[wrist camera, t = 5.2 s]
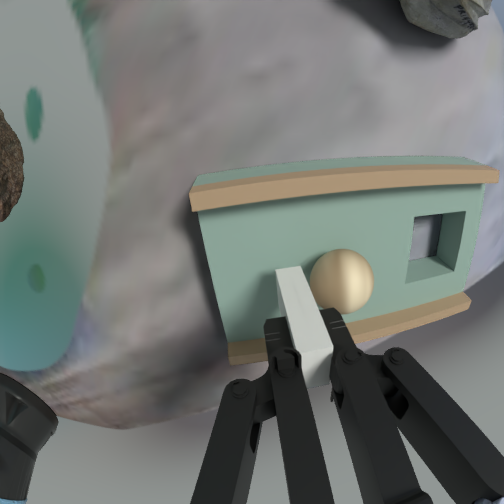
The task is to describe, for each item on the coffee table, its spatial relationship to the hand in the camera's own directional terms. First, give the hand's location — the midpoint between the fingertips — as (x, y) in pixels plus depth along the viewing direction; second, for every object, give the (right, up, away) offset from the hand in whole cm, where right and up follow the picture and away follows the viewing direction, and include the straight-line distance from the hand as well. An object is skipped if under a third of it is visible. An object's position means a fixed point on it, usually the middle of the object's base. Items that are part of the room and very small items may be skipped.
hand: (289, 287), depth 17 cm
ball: (+3, 0, 0) cm, 3 cm away
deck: (+6, +3, +4) cm, 8 cm away
